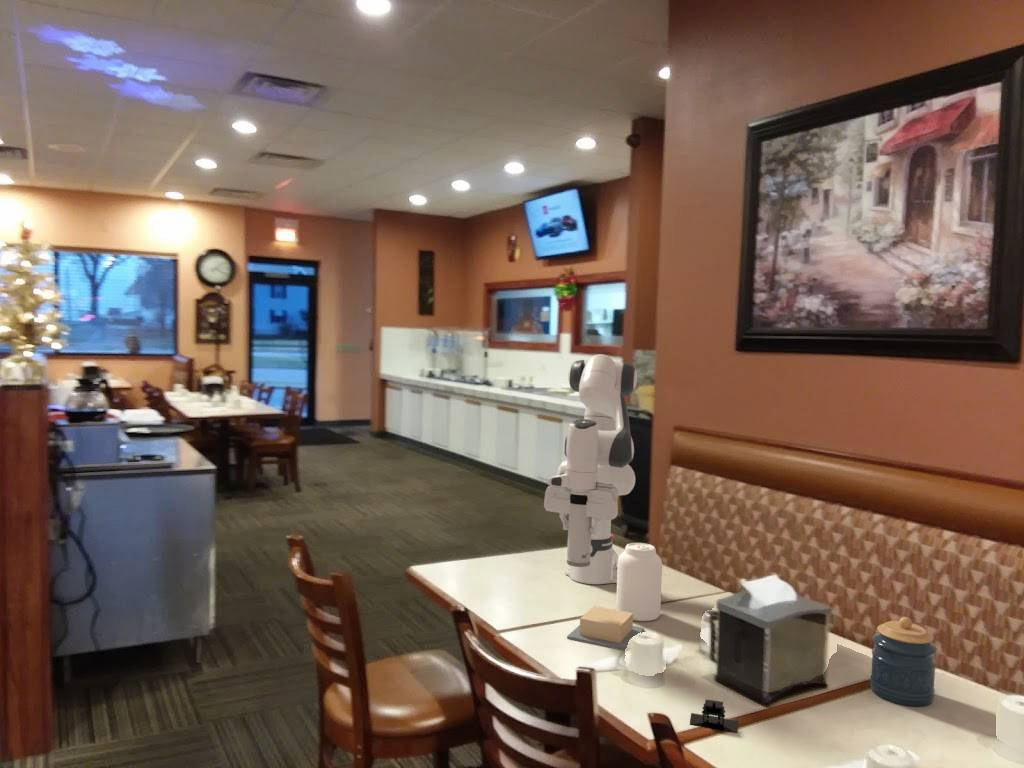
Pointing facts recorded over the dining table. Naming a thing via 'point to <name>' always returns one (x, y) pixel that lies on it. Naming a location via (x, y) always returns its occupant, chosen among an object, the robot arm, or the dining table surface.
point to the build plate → (714, 718)
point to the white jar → (639, 582)
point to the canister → (903, 663)
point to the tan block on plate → (606, 628)
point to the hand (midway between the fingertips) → (579, 531)
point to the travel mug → (578, 532)
